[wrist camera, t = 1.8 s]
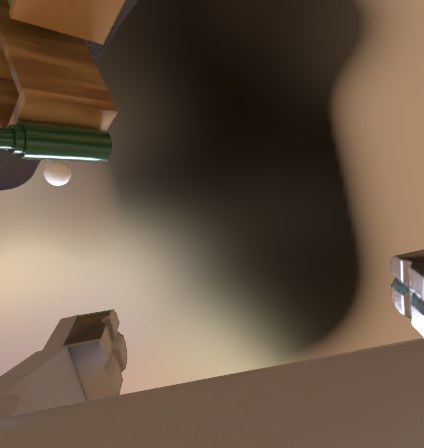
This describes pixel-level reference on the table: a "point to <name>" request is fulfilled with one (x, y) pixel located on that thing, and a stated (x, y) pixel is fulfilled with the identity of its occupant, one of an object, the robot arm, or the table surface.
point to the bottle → (56, 142)
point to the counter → (69, 16)
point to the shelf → (49, 78)
